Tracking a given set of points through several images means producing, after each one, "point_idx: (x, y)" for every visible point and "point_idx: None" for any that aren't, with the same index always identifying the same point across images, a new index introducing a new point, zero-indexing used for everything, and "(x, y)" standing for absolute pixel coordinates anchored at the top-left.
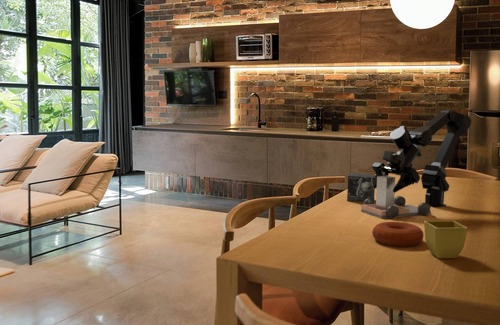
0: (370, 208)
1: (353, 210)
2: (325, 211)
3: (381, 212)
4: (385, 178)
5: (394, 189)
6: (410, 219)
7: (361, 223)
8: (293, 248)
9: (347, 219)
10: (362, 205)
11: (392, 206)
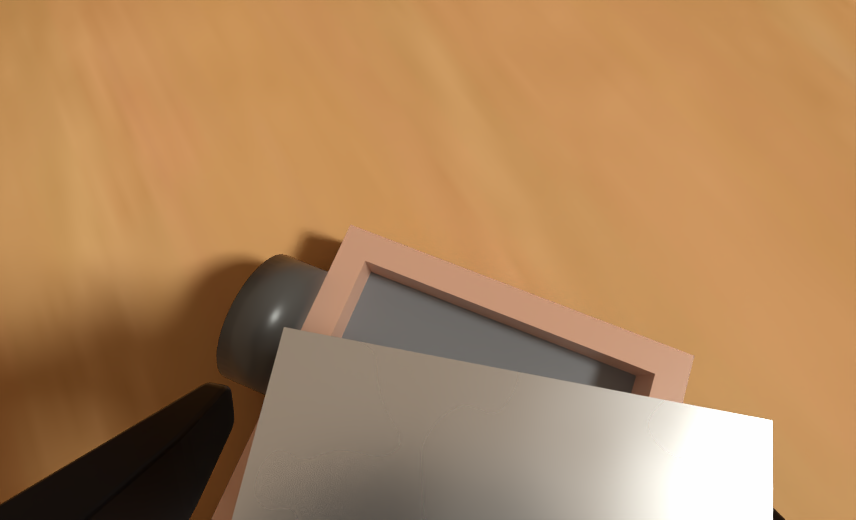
0: (525, 293)
1: (739, 348)
2: (844, 126)
3: (352, 228)
4: (349, 342)
5: (180, 400)
6: (143, 416)
7: (384, 12)
8: None
9: (529, 36)
10: (671, 347)
11: (245, 286)
